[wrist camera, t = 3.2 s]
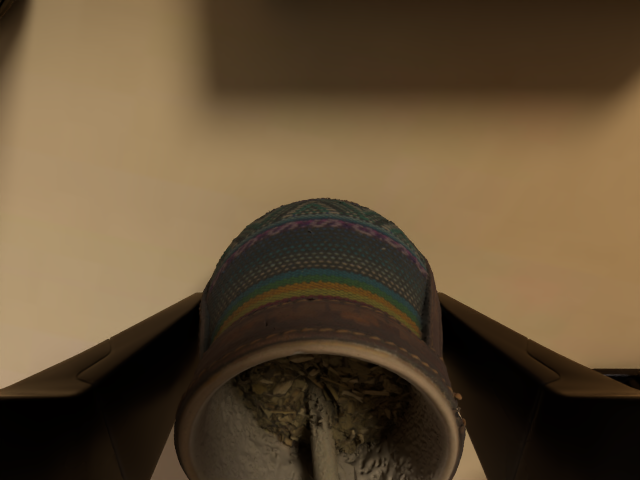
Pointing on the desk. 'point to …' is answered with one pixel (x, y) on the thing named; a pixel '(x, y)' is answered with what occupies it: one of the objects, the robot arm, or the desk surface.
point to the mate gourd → (320, 356)
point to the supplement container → (5, 6)
